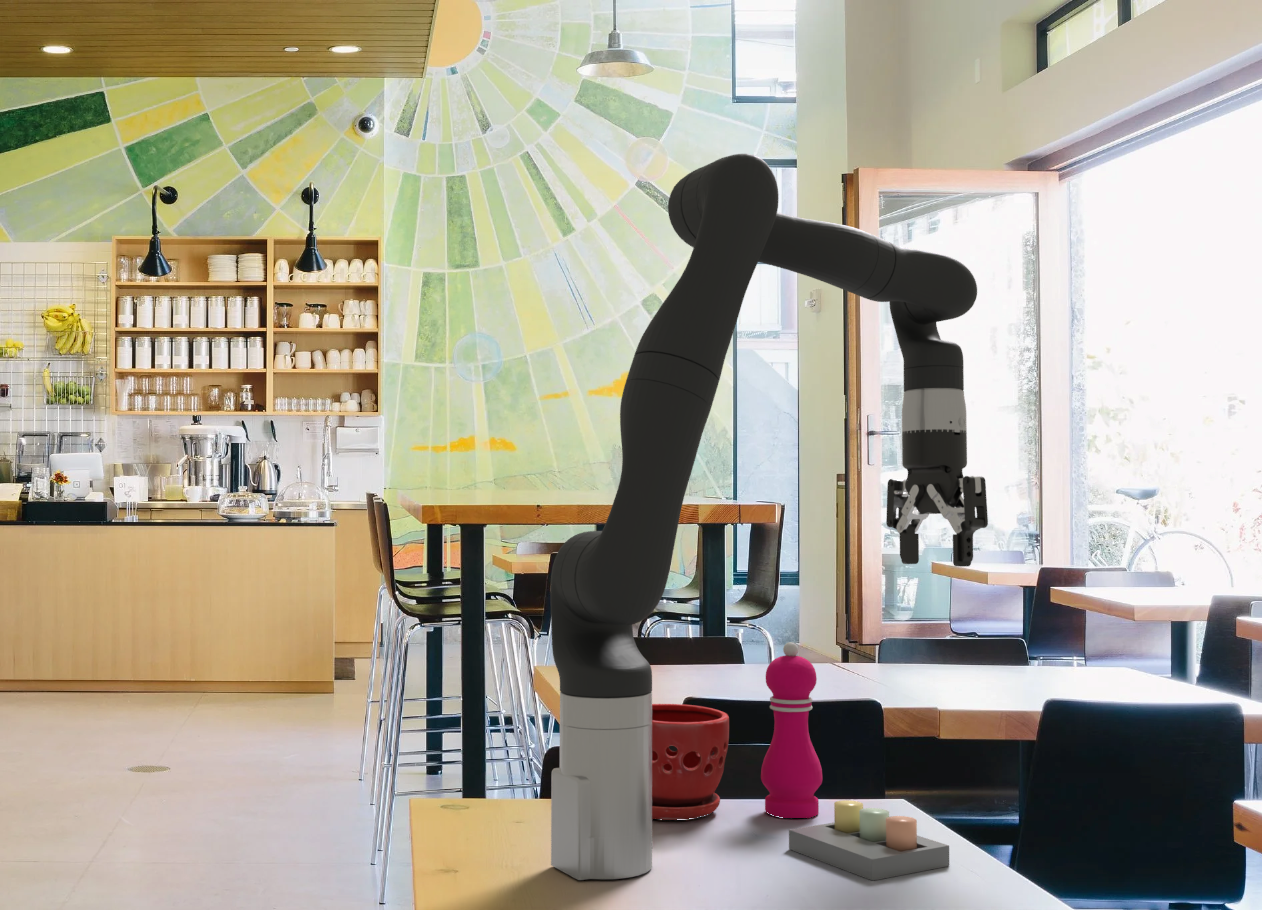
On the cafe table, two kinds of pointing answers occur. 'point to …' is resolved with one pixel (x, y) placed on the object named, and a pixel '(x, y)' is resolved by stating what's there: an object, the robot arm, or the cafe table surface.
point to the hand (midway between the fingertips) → (935, 565)
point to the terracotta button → (901, 833)
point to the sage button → (873, 824)
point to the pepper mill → (791, 739)
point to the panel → (866, 852)
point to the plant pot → (687, 760)
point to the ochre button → (847, 816)
